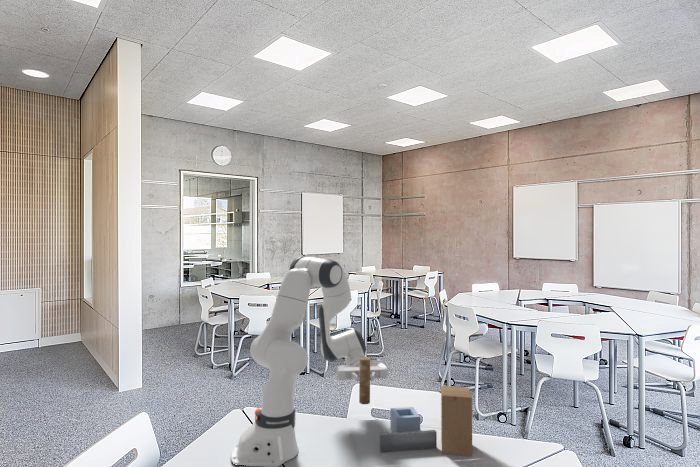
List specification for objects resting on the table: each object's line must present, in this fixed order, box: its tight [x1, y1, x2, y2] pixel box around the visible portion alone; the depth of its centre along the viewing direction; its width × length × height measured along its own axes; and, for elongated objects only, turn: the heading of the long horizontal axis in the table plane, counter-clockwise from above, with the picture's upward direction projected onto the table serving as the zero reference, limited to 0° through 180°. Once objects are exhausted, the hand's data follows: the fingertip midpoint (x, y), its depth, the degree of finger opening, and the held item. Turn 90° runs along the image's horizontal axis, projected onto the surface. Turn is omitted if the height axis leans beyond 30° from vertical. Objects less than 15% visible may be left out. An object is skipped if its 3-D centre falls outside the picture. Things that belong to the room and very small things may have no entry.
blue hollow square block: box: [389, 406, 421, 433], centre depth 153 cm, size 9×9×8 cm
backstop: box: [379, 427, 438, 454], centre depth 148 cm, size 20×16×6 cm
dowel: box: [358, 357, 371, 405], centre depth 152 cm, size 4×4×16 cm
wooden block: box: [440, 385, 473, 457], centre depth 142 cm, size 10×10×20 cm
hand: (365, 378), depth 151 cm, fingers closed on dowel, 4 cm apart
